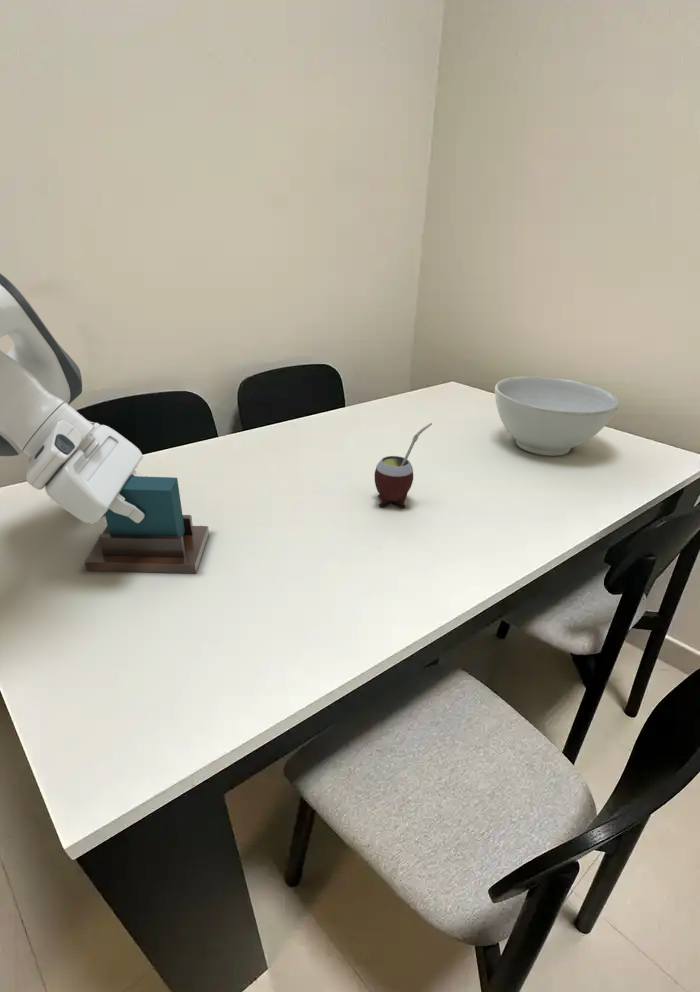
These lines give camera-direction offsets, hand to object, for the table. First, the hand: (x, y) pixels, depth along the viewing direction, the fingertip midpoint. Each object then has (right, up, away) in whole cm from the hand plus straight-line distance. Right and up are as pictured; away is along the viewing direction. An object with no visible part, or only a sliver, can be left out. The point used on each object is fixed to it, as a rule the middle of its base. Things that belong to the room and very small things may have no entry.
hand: (147, 509), depth 86 cm
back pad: (-1, -4, +3) cm, 5 cm away
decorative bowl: (+75, +24, +50) cm, 94 cm away
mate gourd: (+38, +6, +23) cm, 45 cm away
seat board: (-1, -6, +5) cm, 7 cm away
